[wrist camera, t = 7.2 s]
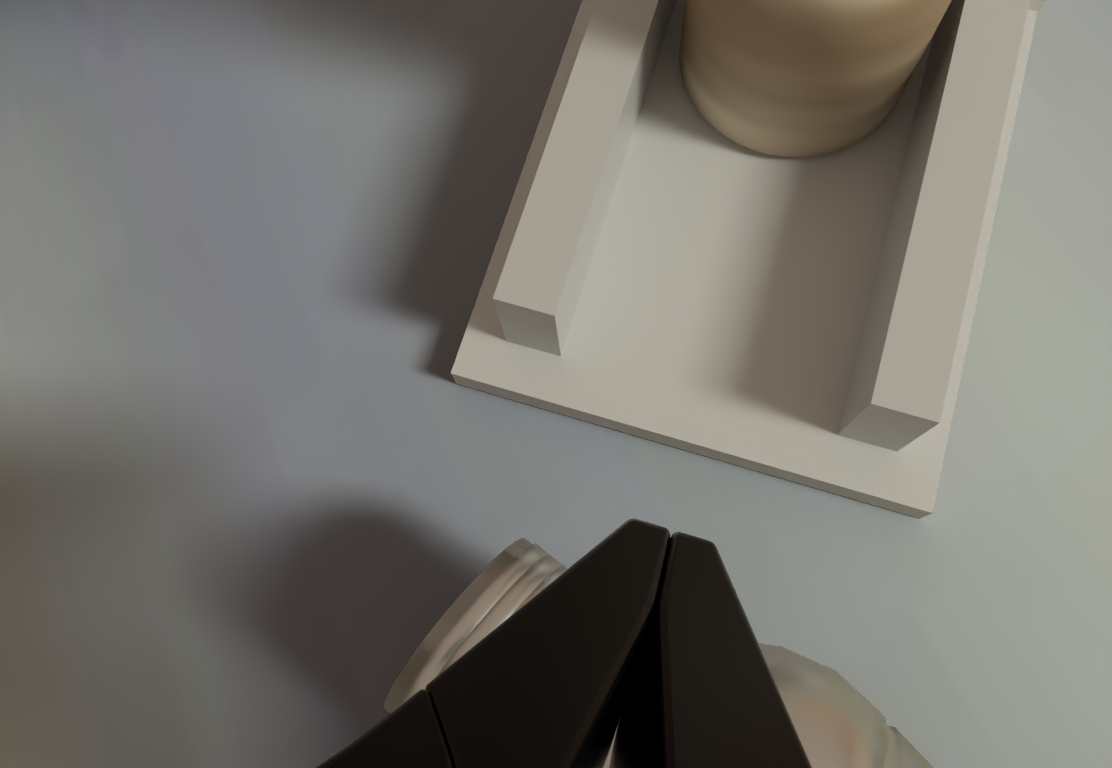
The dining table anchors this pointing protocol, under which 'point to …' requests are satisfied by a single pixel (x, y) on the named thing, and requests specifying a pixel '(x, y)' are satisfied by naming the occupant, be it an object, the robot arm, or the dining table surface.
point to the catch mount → (753, 260)
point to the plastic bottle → (503, 588)
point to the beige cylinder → (802, 67)
